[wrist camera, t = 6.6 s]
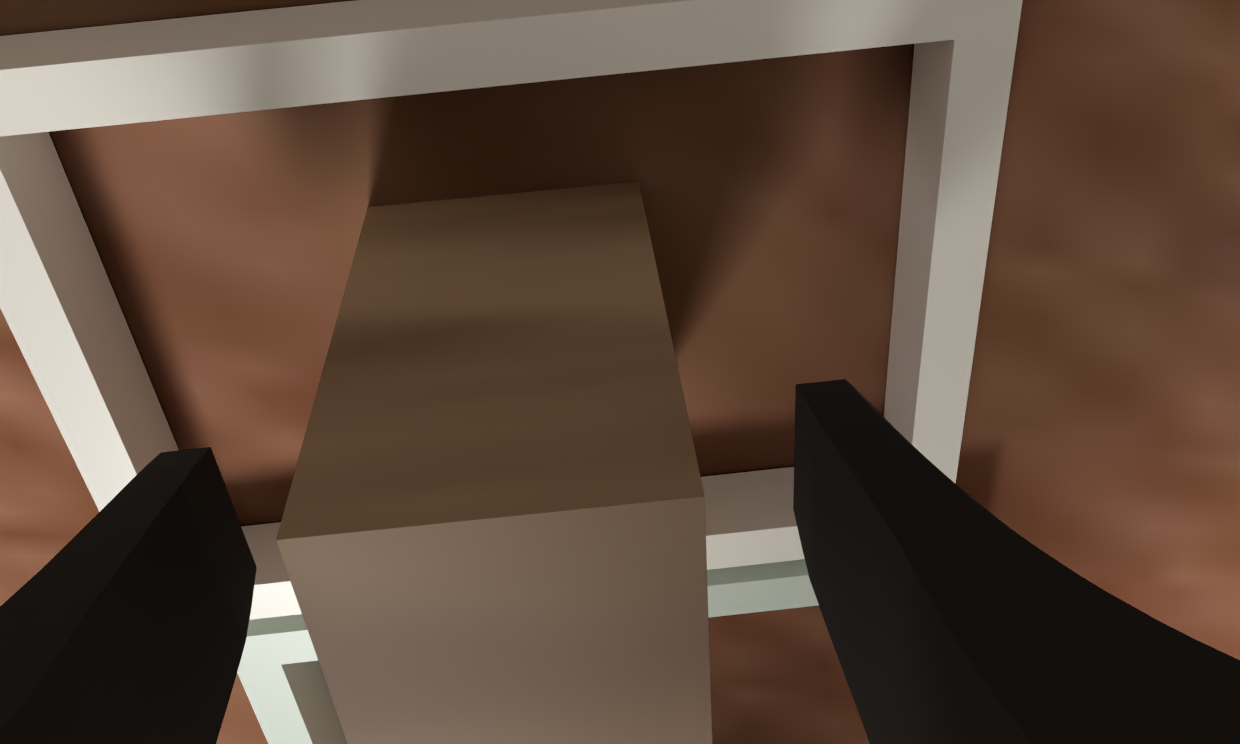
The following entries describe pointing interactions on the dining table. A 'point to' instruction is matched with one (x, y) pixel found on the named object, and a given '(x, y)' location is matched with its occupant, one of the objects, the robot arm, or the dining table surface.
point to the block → (504, 483)
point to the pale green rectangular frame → (301, 702)
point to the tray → (475, 58)
